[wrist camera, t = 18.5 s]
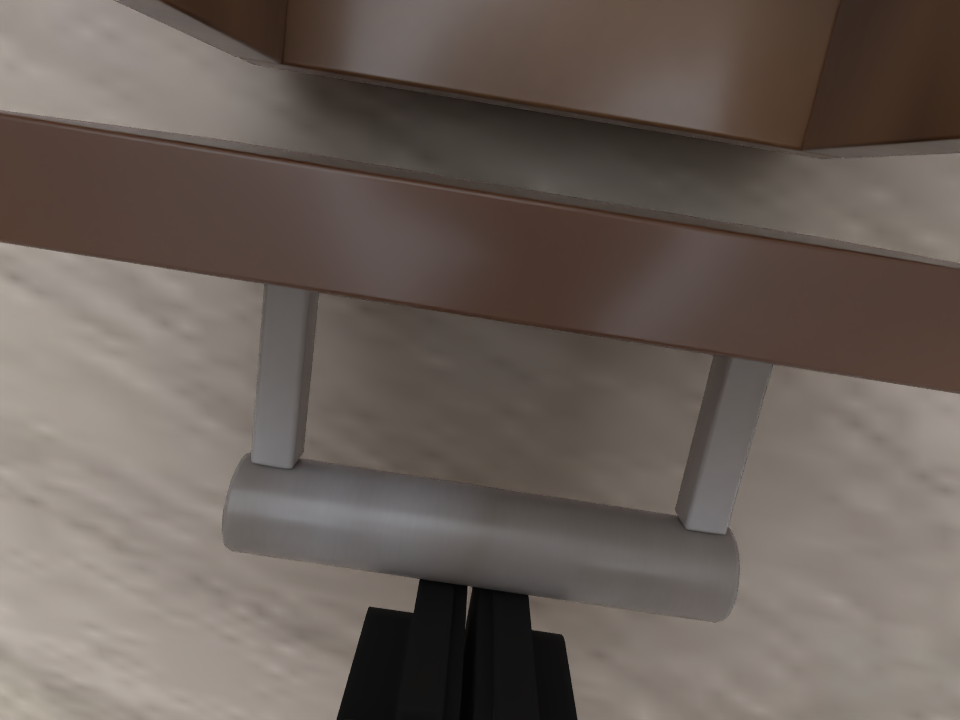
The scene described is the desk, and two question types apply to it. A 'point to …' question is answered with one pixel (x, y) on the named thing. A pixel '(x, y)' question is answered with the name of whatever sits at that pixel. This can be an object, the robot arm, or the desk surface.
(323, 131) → the desk surface
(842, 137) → the drawer
